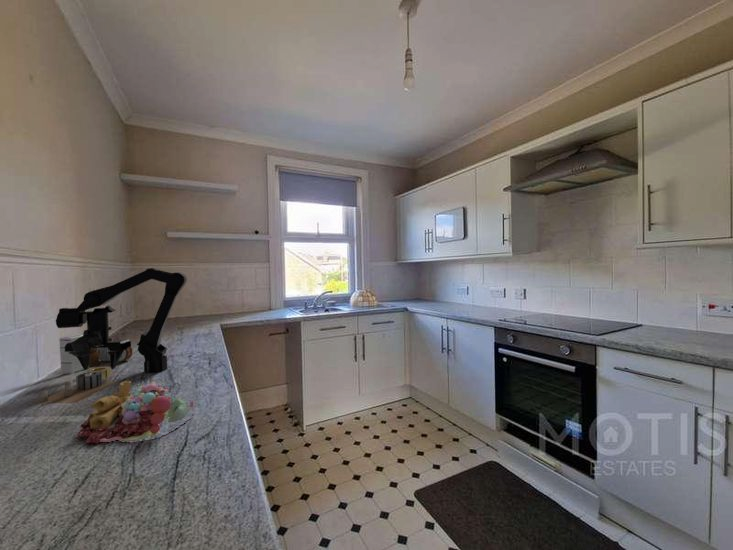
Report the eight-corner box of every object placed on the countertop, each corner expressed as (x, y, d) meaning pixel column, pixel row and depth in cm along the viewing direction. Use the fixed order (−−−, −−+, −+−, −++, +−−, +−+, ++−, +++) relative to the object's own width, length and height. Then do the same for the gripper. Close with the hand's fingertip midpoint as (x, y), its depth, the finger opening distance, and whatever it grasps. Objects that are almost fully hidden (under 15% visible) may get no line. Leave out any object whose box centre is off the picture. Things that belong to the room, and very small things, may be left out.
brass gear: (115, 377, 114) (114, 366, 114) (101, 383, 107) (101, 372, 107) (97, 377, 113) (97, 366, 113) (82, 384, 107) (82, 372, 107)
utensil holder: (87, 368, 124) (86, 338, 124) (75, 367, 125) (74, 337, 125) (102, 363, 130) (101, 335, 129) (90, 362, 131) (89, 334, 131)
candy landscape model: (51, 451, 68) (50, 410, 68) (119, 404, 92) (118, 373, 91) (174, 441, 72) (173, 401, 72) (209, 398, 95) (208, 368, 95)
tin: (133, 360, 134) (132, 341, 134) (126, 363, 131) (126, 343, 130) (101, 360, 135) (100, 340, 135) (94, 362, 132) (93, 342, 132)
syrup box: (72, 377, 114) (71, 337, 114) (60, 375, 115) (58, 337, 115) (89, 371, 120) (88, 334, 119) (77, 370, 121) (76, 333, 121)
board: (118, 385, 106) (117, 368, 106) (76, 406, 90) (76, 386, 90) (81, 386, 105) (80, 369, 105) (33, 407, 89) (32, 387, 89)
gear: (107, 382, 105) (106, 369, 105) (91, 390, 99) (91, 376, 98) (87, 383, 104) (87, 370, 104) (71, 390, 98) (70, 376, 98)
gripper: (48, 331, 101) (50, 378, 102) (107, 329, 102) (109, 376, 103) (78, 324, 112) (79, 367, 113) (131, 323, 113) (132, 365, 114)
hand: (99, 369), depth 110 cm, fingers open, 9 cm apart
